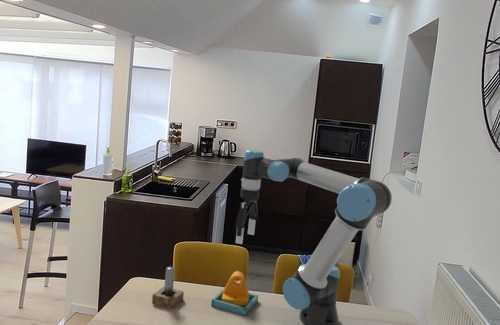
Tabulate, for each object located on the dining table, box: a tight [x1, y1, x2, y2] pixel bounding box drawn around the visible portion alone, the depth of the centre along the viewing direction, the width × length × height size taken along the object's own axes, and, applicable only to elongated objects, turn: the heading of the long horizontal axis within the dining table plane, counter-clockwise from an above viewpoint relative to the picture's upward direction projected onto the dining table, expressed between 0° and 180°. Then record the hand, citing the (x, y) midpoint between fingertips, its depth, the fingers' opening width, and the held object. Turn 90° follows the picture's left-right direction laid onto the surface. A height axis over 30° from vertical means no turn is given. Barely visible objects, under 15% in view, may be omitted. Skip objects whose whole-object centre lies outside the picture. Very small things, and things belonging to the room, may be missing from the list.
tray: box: [210, 287, 259, 316], centre depth 187 cm, size 15×14×2 cm
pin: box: [164, 266, 176, 297], centre depth 182 cm, size 3×3×14 cm
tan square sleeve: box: [151, 285, 185, 309], centre depth 183 cm, size 9×9×4 cm
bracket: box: [222, 270, 250, 306], centre depth 187 cm, size 11×7×12 cm, turn 88°
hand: (245, 238), depth 187 cm, fingers open, 13 cm apart
